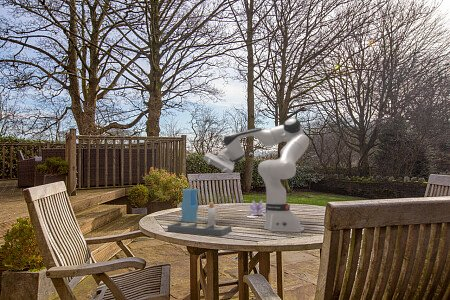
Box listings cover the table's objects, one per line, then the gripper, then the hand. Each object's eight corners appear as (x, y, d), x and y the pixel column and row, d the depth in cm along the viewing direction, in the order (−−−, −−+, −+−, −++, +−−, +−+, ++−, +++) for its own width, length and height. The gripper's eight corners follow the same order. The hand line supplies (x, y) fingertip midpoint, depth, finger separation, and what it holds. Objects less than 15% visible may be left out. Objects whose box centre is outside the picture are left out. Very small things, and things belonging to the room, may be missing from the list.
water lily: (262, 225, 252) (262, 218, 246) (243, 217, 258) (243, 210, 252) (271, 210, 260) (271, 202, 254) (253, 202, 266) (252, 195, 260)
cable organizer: (232, 231, 194) (232, 225, 194) (221, 236, 181) (221, 230, 181) (180, 227, 206) (180, 221, 206) (167, 231, 193) (167, 225, 193)
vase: (189, 222, 223) (190, 190, 224) (180, 221, 228) (181, 189, 229) (198, 220, 229) (198, 189, 230) (189, 219, 234) (189, 188, 235)
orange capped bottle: (217, 226, 209) (217, 202, 209) (213, 228, 204) (213, 203, 204) (209, 225, 211) (209, 201, 211) (205, 227, 206) (205, 202, 206)
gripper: (209, 148, 230) (202, 154, 217) (237, 163, 228) (231, 171, 215) (205, 156, 232) (198, 163, 220) (233, 171, 231) (227, 179, 218)
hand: (215, 167), depth 218 cm, fingers open, 8 cm apart
